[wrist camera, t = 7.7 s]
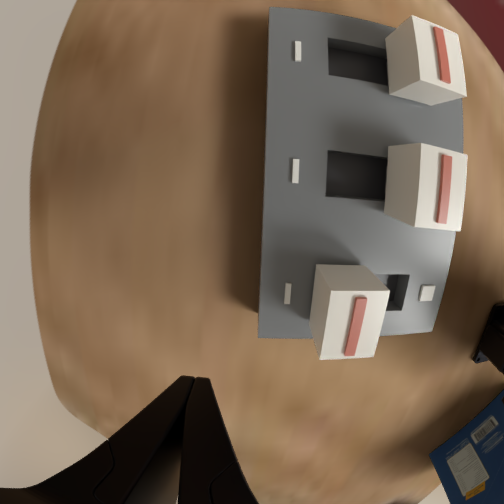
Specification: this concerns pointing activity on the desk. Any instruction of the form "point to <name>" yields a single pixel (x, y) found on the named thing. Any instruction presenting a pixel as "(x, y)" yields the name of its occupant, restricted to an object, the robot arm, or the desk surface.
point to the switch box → (342, 173)
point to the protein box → (474, 459)
